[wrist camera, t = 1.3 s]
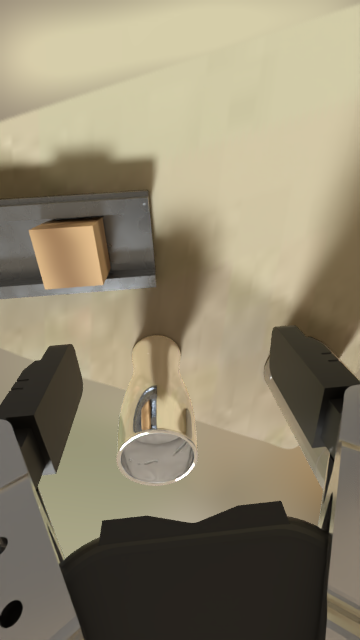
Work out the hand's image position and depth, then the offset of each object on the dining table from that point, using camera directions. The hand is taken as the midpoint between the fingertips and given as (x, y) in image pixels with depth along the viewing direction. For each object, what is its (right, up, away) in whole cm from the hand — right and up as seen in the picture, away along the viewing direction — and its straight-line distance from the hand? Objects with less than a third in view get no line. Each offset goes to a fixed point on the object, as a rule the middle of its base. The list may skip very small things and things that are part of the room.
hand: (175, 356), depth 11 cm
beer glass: (-3, -3, +26) cm, 26 cm away
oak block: (-10, +9, +18) cm, 22 cm away
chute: (-14, +9, +19) cm, 25 cm away
